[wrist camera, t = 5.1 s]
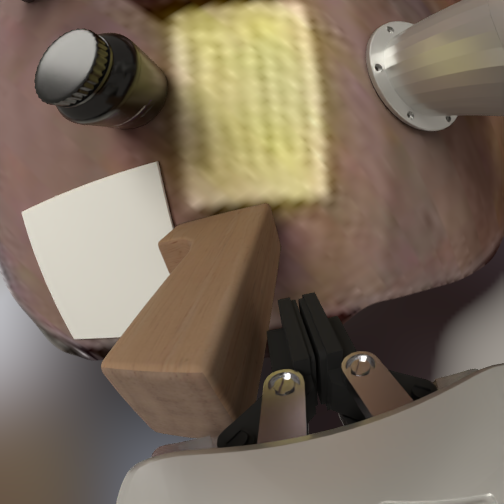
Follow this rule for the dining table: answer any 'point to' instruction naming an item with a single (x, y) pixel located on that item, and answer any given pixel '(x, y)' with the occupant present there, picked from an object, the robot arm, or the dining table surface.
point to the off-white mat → (103, 249)
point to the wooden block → (202, 326)
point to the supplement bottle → (100, 80)
